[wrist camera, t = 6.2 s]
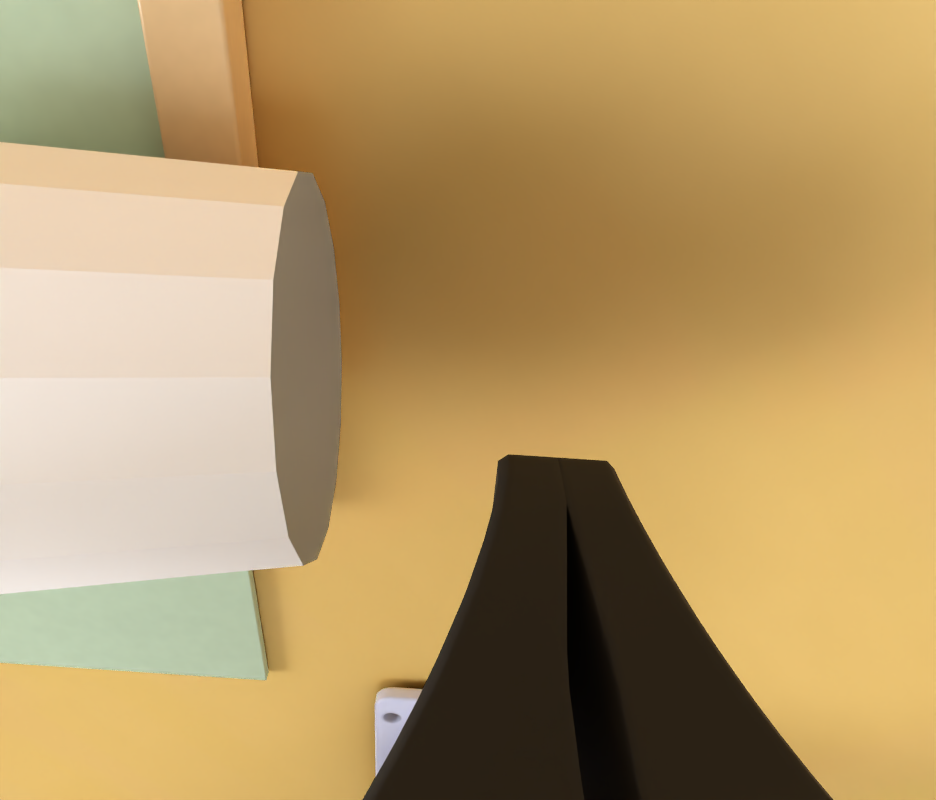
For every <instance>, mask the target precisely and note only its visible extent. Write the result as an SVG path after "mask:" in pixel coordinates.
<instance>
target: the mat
mask: <svg viewBox="0 0 936 800" xmlns="http://www.w3.org/2000/svg"><path fill="white" fill-rule="evenodd" d="M0 142H6V143H16V144H26V145H36V146H47V147H57V148H67V149H77V150H87V151H97V152H107V153H117V154H127V155H138V156H148V157H158V158H165V155H164V149H163V144H162V138H161V132H160V127H159V121H158V115H157V110H156V104H155V98H154V93H153V87H152V81H151V76H150V70H149V65H148V59H147V53H146V48H145V42H144V36H143V31H142V25H141V19H140V14H139V8H138V2H137V0H0ZM0 663H13V664H28V665H43V666H58V667H73V668H88V669H103V670H119V671H134V672H149V673H164V674H179V675H194V676H209V677H224V678H239V679H254V680H266V679H267V676H268V672H269V671H268V665H267V659H266V653H265V646H264V640H263V634H262V627H261V621H260V615H259V609H258V602H257V596H256V590H255V584H254V577H253V571H252V570H250V571H240V572H229V573H219V574H208V575H198V576H187V577H176V578H166V579H155V580H145V581H134V582H124V583H113V584H103V585H92V586H82V587H71V588H61V589H50V590H40V591H29V592H19V593H8V594H0Z"/></svg>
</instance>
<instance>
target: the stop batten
mask: <svg viewBox="0 0 936 800" xmlns="http://www.w3.org/2000/svg"><path fill="white" fill-rule="evenodd" d="M137 2H138V8H139V14H140V19H141V25H142V31H143V36H144V42H145V48H146V53H147V59H148V65H149V70H150V76H151V81H152V87H153V93H154V98H155V104H156V110H157V115H158V121H159V127H160V132H161V138H162V144H163V149H164V155H165V158H168V159H178V160H188V161H198V162H208V163H218V164H229V165H239V166H249V167H258V157H257V147H256V137H255V127H254V117H253V108H252V98H251V88H250V78H249V68H248V58H247V49H246V39H245V29H244V19H243V9H242V0H137Z"/></svg>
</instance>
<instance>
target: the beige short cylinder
mask: <svg viewBox="0 0 936 800" xmlns="http://www.w3.org/2000/svg"><path fill="white" fill-rule="evenodd" d="M341 378H342V358H341V331H340V304H339V294H338V284H337V274H336V264H335V254H334V246H333V241H332V236H331V231H330V226H329V221H328V216H327V210H326V205H325V201H324V199H323V196H322V194H321V192H320V189H319V187H318V185H317V182H316V180H315V177H314V175H313V173H308V172H299V171H289V170H279V169H269V168H259V167H249V166H239V165H229V164H218V163H208V162H198V161H188V160H178V159H168V158H158V157H148V156H138V155H127V154H117V153H107V152H97V151H87V150H77V149H67V148H57V147H47V146H36V145H26V144H16V143H6V142H0V594H8V593H19V592H29V591H40V590H50V589H61V588H71V587H82V586H92V585H103V584H113V583H124V582H134V581H145V580H155V579H166V578H176V577H187V576H198V575H208V574H219V573H229V572H240V571H250V570H261V569H271V568H282V567H292V566H303V565H305V564H307V563H310V562H312V561H314V560H316V559H317V558H318V555H319V552H320V550H321V547H322V544H323V541H324V538H325V536H326V533H327V530H328V527H329V521H330V515H331V509H332V503H333V497H334V491H335V485H336V477H337V464H338V452H339V439H340V426H341Z"/></svg>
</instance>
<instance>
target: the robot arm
mask: <svg viewBox="0 0 936 800" xmlns="http://www.w3.org/2000/svg"><path fill="white" fill-rule="evenodd" d="M375 770H376V777H375V779H374V781H373V782H372V784H371V786H370V788H369V789H368V791H367V793H366V795H365V796H364V798H363V800H833V799H832V798H831V797H830V795H829V794H828V793H827V792H826V791H825V789H824V788H823V787H822V786H821V785H820V784H819V782H818V781H817V780H816V779H815V778H814V776H813V775H812V774H811V773H810V772H809V770H808V769H807V768H806V767H805V765H804V764H803V763H802V761H801V760H800V759H799V758H798V756H797V755H796V754H795V753H794V751H793V750H792V749H791V748H790V746H789V745H788V744H787V743H786V741H785V740H784V739H783V738H782V736H781V735H780V734H779V733H778V731H777V730H776V729H775V727H774V726H773V725H772V723H771V722H770V721H769V719H768V718H767V717H766V715H765V714H764V713H763V711H762V710H761V709H760V707H759V706H758V705H757V703H756V702H755V701H754V699H753V698H752V696H751V695H750V694H749V692H748V691H747V690H746V688H745V687H744V686H743V684H742V683H741V681H740V680H739V678H738V677H737V676H736V674H735V673H734V671H733V670H732V668H731V667H730V665H729V664H728V663H727V661H726V660H725V658H724V657H723V655H722V654H721V653H720V651H719V650H718V648H717V647H716V645H715V644H714V642H713V641H712V639H711V638H710V636H709V635H708V633H707V632H706V630H705V629H704V627H703V626H702V624H701V623H700V621H699V619H698V618H697V616H696V615H695V613H694V612H693V610H692V608H691V607H690V605H689V603H688V602H687V600H686V599H685V597H684V595H683V594H682V592H681V591H680V589H679V587H678V586H677V584H676V582H675V581H674V579H673V578H672V576H671V574H670V573H669V571H668V569H667V568H666V566H665V564H664V563H663V561H662V559H661V557H660V556H659V554H658V552H657V550H656V549H655V547H654V545H653V543H652V542H651V540H650V538H649V536H648V534H647V532H646V531H645V529H644V527H643V525H642V523H641V522H640V520H639V518H638V516H637V514H636V512H635V510H634V508H633V506H632V504H631V503H630V501H629V499H628V497H627V495H626V493H625V491H624V489H623V487H622V484H621V482H620V480H619V478H618V476H617V474H616V472H615V470H614V468H613V467H612V466H611V465H610V464H609V463H608V462H607V461H599V460H584V459H568V458H553V457H538V456H523V455H507V456H505V457H504V458H502V459H500V460H499V461H498V467H497V476H496V484H495V493H494V502H493V509H492V513H491V517H490V520H489V524H488V528H487V531H486V535H485V539H484V542H483V545H482V548H481V550H480V553H479V556H478V559H477V562H476V565H475V568H474V570H473V573H472V576H471V579H470V582H469V585H468V588H467V590H466V593H465V595H464V598H463V600H462V603H461V605H460V607H459V610H458V612H457V614H456V617H455V619H454V621H453V624H452V626H451V628H450V631H449V633H448V635H447V638H446V640H445V642H444V644H443V647H442V649H441V651H440V654H439V656H438V658H437V660H436V662H435V665H434V667H433V669H432V671H431V673H430V675H429V677H428V679H427V681H426V683H425V685H424V687H423V689H415V688H400V687H387V688H384V689H382V690H380V691H379V692H378V693H377V695H376V701H375Z"/></svg>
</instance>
